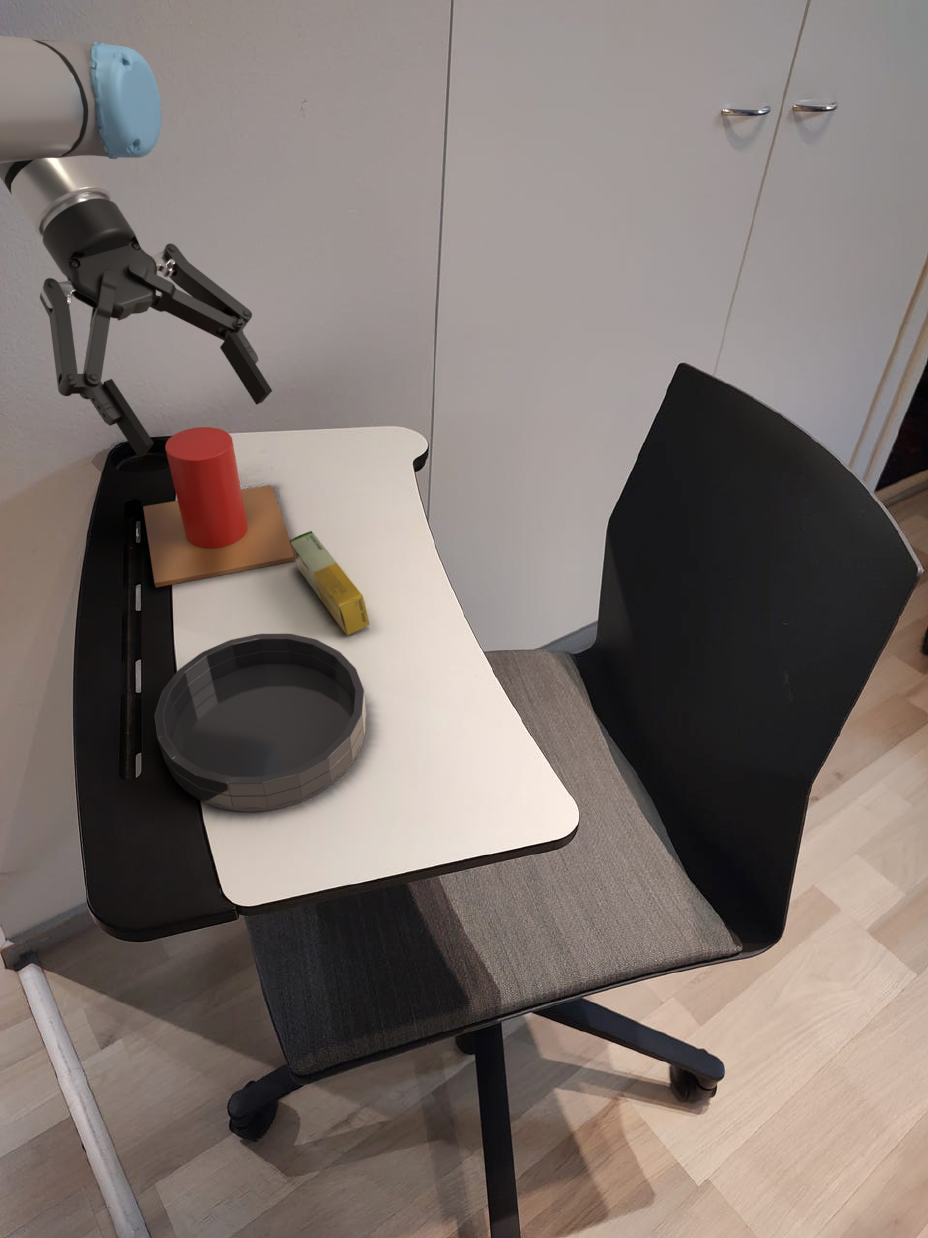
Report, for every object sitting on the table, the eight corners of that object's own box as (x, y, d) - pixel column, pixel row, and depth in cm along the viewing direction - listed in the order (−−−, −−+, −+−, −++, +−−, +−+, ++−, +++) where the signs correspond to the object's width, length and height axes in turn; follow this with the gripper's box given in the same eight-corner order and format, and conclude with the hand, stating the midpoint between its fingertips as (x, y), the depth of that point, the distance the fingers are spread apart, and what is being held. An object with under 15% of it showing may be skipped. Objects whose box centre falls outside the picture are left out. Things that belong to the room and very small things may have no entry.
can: (189, 553, 90) (168, 464, 83) (182, 519, 95) (162, 432, 88) (252, 541, 92) (236, 453, 85) (242, 508, 96) (227, 422, 90)
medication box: (295, 569, 90) (287, 538, 87) (320, 559, 91) (312, 528, 88) (345, 637, 82) (338, 605, 79) (371, 625, 83) (365, 593, 80)
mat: (155, 587, 87) (154, 583, 87) (144, 510, 97) (142, 506, 96) (296, 560, 91) (295, 556, 90) (271, 489, 101) (270, 484, 100)
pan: (175, 836, 65) (166, 808, 63) (155, 686, 77) (147, 657, 75) (388, 780, 70) (387, 751, 68) (339, 645, 81) (336, 616, 79)
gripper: (179, 213, 91) (292, 394, 93) (-62, 278, 76) (80, 490, 79) (202, 167, 85) (322, 361, 87) (-55, 228, 70) (99, 459, 73)
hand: (208, 423), depth 83 cm, fingers open, 13 cm apart
